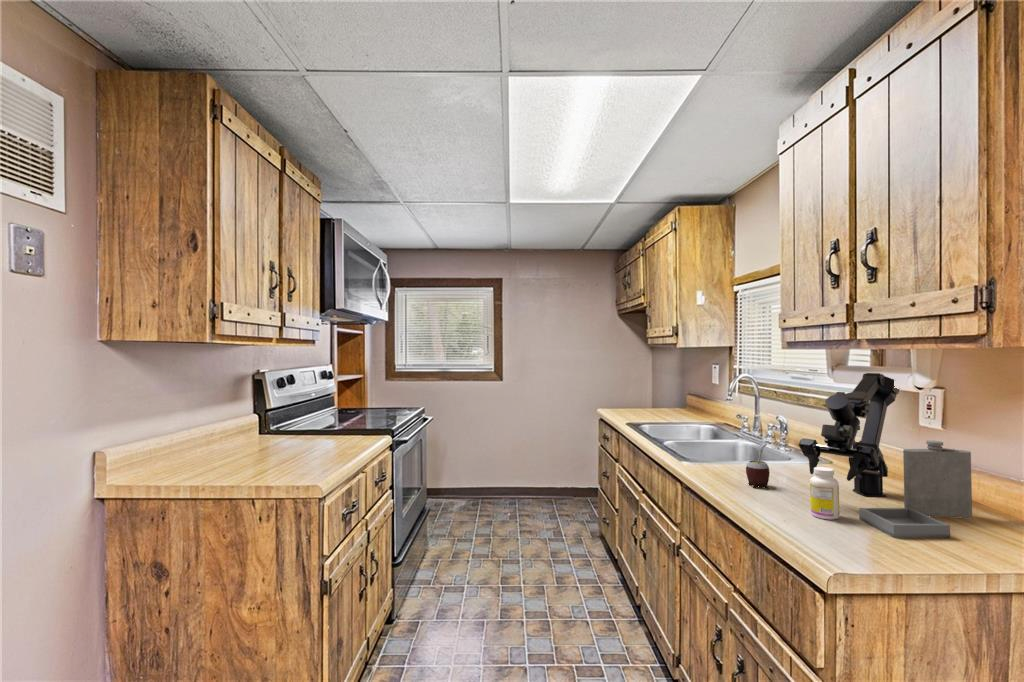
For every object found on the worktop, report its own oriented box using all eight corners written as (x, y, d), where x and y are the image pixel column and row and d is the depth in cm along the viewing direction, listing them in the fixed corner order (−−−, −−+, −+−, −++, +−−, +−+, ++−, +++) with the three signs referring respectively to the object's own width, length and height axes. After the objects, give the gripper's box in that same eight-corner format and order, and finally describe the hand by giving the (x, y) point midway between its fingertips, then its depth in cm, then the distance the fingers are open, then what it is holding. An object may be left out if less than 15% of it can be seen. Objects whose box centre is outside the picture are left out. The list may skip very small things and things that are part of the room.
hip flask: (909, 516, 137) (907, 442, 137) (899, 512, 141) (898, 439, 141) (975, 518, 135) (973, 442, 135) (963, 513, 139) (962, 440, 139)
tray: (910, 519, 135) (909, 508, 135) (950, 537, 122) (949, 525, 122) (859, 519, 135) (859, 508, 135) (893, 537, 122) (893, 525, 122)
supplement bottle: (823, 511, 142) (823, 465, 142) (845, 518, 136) (844, 470, 136) (804, 513, 140) (803, 466, 140) (826, 521, 134) (825, 472, 134)
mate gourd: (751, 482, 173) (750, 438, 173) (776, 487, 167) (775, 441, 167) (741, 486, 168) (741, 441, 168) (767, 491, 162) (766, 444, 162)
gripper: (800, 410, 151) (783, 453, 144) (874, 417, 136) (859, 464, 129) (812, 434, 156) (796, 476, 149) (885, 443, 141) (871, 490, 134)
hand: (829, 476), depth 140 cm, fingers open, 9 cm apart
